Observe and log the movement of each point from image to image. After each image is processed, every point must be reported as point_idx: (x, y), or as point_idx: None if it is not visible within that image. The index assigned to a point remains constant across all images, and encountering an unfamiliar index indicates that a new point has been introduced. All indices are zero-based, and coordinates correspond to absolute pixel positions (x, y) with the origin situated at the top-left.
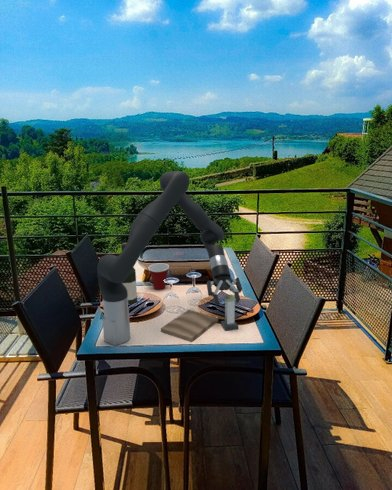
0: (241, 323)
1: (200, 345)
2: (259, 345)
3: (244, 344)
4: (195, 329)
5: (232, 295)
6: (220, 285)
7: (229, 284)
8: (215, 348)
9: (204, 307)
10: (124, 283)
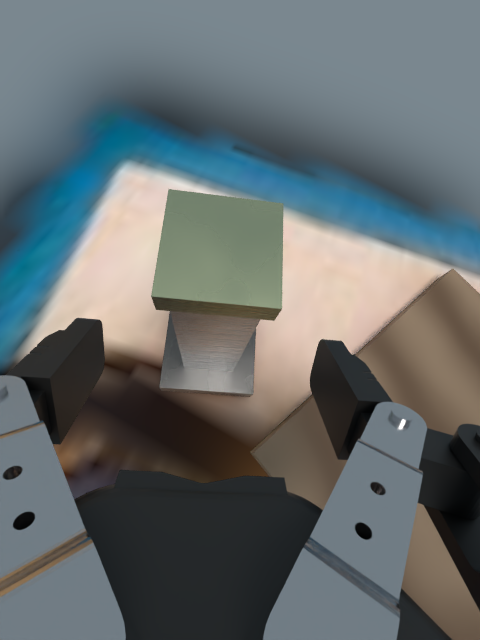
0: (118, 366)
1: (404, 238)
2: (154, 151)
3: (214, 179)
4: (427, 345)
5: (158, 288)
6: (334, 520)
7: (60, 512)
8: (346, 197)
9: None
10: None
